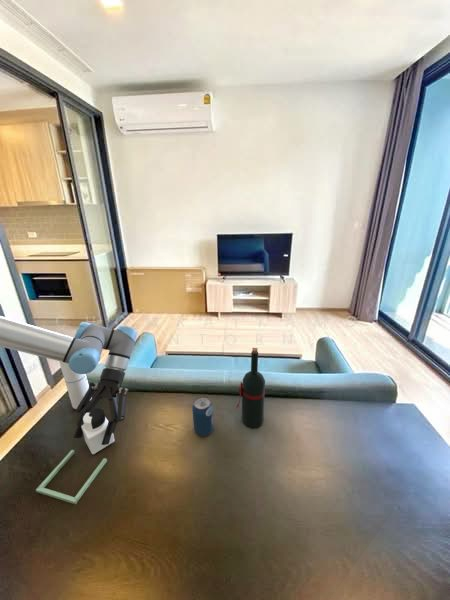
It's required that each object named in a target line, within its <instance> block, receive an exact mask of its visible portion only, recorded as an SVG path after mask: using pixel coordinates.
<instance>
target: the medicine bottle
mask: <svg viewBox="0 0 450 600" xmlns="http://www.w3.org/2000/svg"><path fill="white" fill-rule="evenodd" d="M109 421H110V420H108V419H107V417H106V415H105V411H104V409H103V408H100V407H96V408H92V409H91V410H90V411H88V412H87V413H86V414H85V415H84V417H83V422H84V424H83V425H82V426H81V428H82V431H83V435H82V436H83V438H84V442H85V444H86V445H87V447H88V449H89V451H90V454H92V455H96V453H98V452H100V451H102V450H103V449H105V448H107V447H108V446H110V445H111V444H113V443H114V442H115V435H114V433H112V435H111V438H110V441H109V444H107V445H101V444H102V441H103V438H104V435H105V431H106V428H107V425H108V422H109Z"/></svg>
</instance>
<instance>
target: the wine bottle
mask: <svg viewBox="0 0 450 600" xmlns="http://www.w3.org/2000/svg"><path fill="white" fill-rule="evenodd" d="M250 355H251V356H250V371H247V372H246V373H245V374H244V375H243V378H242V381H240V386H238V393H239V399H238V403H237V405H236V407H235V411H237V409H238V408H239V407H240V400H241V422H242V424H243V425H244V426H245V427H246V428H248V429H251V430H254V429H259V428H261V426H263V423H264V417H265V414H264V413H265V396H266V395H265V394H266V390H265V389H266V380H265V377H264V375H263V374H262V373H261V372H260V371H258V370H259V369H258V368H259V351H258V347H252V349H251V354H250ZM241 397H242V398H241Z"/></svg>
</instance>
